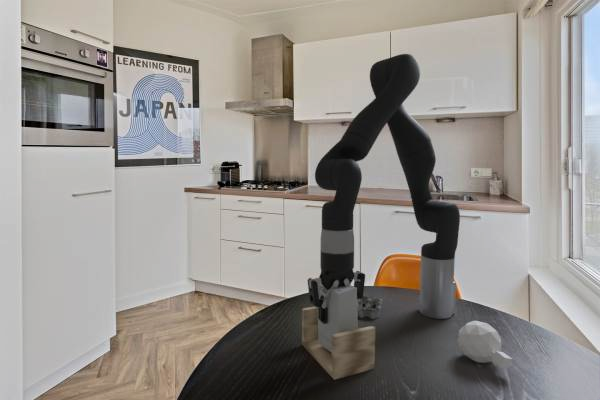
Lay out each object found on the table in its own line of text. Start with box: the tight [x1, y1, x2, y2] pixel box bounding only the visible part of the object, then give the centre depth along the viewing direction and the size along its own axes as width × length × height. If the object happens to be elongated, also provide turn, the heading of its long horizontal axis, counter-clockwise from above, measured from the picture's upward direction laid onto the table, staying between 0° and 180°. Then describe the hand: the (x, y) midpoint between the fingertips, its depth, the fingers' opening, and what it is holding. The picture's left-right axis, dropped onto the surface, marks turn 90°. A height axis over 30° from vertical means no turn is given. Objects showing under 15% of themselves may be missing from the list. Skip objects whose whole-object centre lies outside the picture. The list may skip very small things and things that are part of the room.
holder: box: [301, 305, 376, 381], centre depth 85 cm, size 10×16×9 cm, turn 24°
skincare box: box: [317, 283, 359, 352], centre depth 84 cm, size 8×6×15 cm
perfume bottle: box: [457, 320, 513, 369], centre depth 82 cm, size 9×9×12 cm
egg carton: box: [357, 294, 384, 320], centre depth 110 cm, size 10×7×4 cm
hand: (336, 319), depth 84 cm, fingers closed on skincare box, 6 cm apart
